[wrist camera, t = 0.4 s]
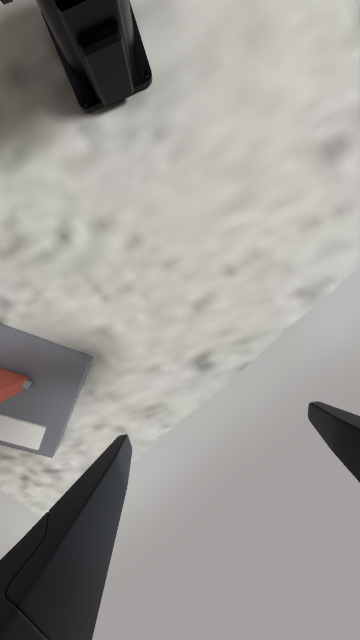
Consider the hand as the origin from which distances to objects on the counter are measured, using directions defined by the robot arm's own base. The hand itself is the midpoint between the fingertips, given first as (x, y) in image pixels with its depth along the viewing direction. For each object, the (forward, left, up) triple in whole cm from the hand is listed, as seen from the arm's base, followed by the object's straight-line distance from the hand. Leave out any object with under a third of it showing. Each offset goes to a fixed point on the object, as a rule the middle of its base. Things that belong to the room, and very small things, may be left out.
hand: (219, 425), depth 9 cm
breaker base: (-1, -24, -14) cm, 28 cm away
